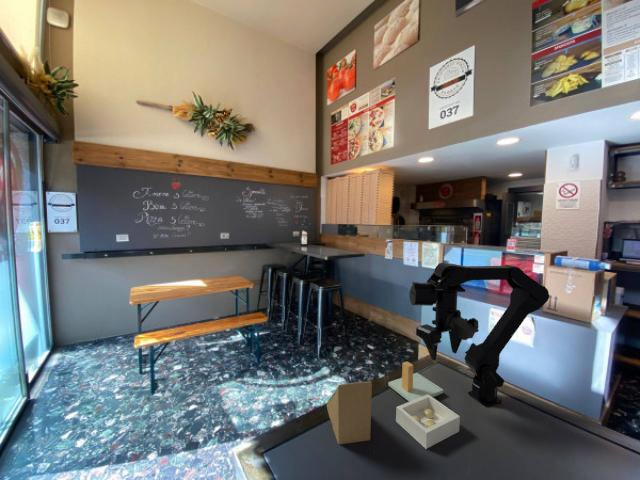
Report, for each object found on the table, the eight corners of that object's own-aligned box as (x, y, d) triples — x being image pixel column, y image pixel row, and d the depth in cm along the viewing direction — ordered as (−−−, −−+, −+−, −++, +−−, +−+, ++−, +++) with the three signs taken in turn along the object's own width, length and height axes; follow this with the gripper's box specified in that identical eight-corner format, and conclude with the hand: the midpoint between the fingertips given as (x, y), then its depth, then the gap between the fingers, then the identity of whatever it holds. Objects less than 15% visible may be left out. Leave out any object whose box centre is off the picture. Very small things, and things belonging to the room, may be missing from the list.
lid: (416, 378, 93) (417, 350, 93) (443, 395, 84) (444, 364, 83) (388, 388, 87) (389, 358, 87) (413, 408, 78) (414, 375, 77)
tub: (427, 407, 78) (428, 394, 78) (459, 431, 69) (459, 416, 69) (395, 421, 73) (396, 407, 72) (426, 449, 64) (426, 432, 64)
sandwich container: (353, 399, 82) (353, 351, 81) (371, 440, 67) (372, 381, 66) (325, 403, 80) (325, 353, 79) (337, 445, 65) (338, 385, 64)
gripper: (448, 319, 69) (446, 377, 70) (492, 309, 78) (489, 361, 79) (415, 306, 79) (413, 358, 80) (457, 299, 88) (455, 345, 89)
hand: (444, 356), depth 82 cm, fingers open, 9 cm apart
